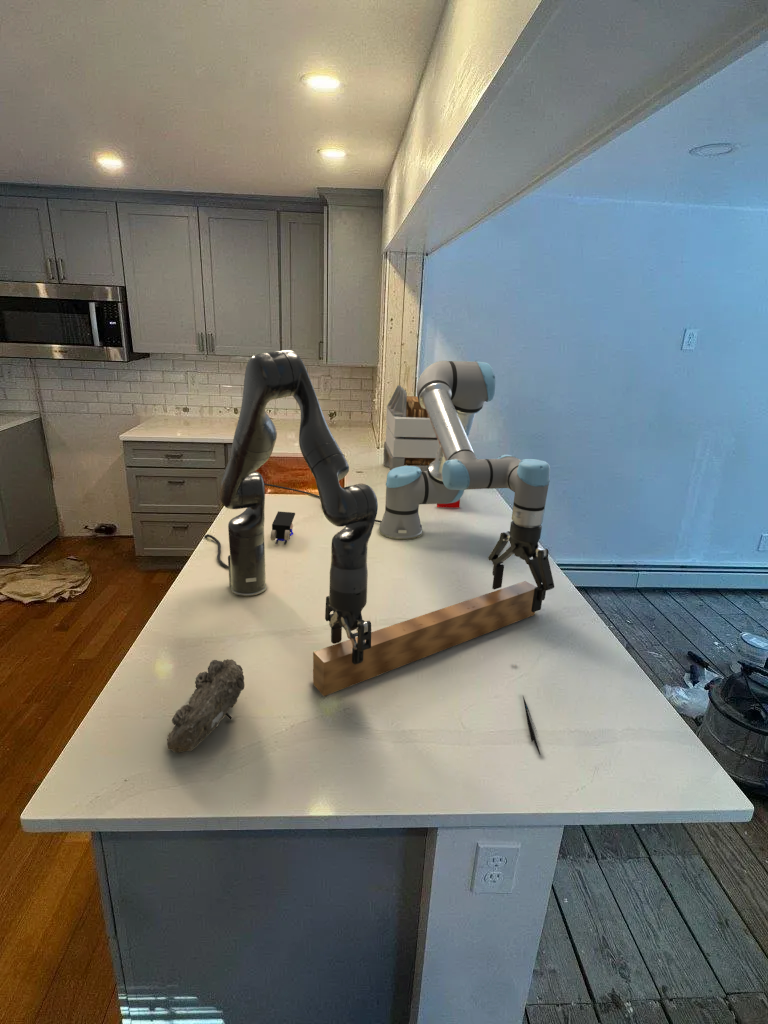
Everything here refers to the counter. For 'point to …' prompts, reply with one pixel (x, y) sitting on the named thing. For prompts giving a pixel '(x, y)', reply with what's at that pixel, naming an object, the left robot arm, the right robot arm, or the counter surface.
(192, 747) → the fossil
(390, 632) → the bar
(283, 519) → the black wheeled block
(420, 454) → the grey crate
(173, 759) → the counter surface
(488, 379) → the right robot arm
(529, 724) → the feather
